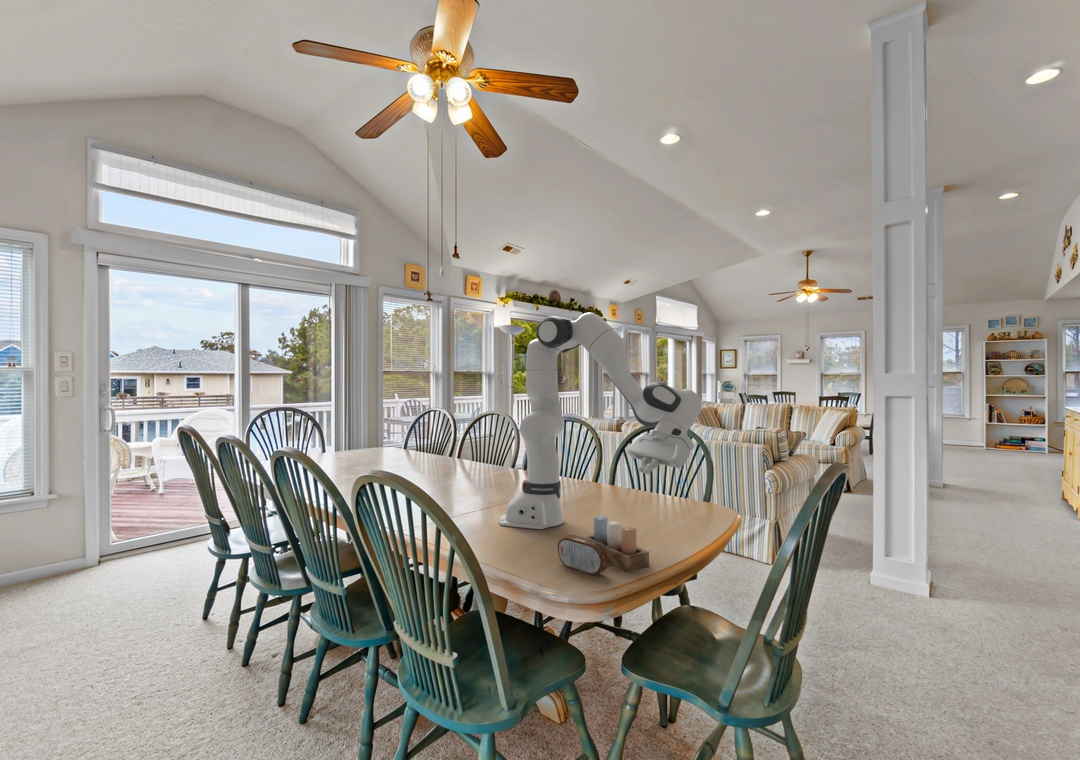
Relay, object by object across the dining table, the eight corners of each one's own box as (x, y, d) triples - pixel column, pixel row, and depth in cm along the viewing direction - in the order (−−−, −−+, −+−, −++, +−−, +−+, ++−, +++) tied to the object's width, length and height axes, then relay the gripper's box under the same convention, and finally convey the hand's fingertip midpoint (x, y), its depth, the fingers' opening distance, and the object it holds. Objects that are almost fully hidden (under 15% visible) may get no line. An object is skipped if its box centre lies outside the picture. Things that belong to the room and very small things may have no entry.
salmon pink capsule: (621, 561, 134) (621, 531, 134) (621, 555, 138) (621, 526, 138) (636, 561, 134) (636, 531, 133) (636, 556, 138) (636, 527, 137)
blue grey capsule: (593, 548, 144) (593, 520, 144) (594, 543, 148) (594, 516, 148) (607, 548, 144) (607, 520, 144) (608, 543, 148) (607, 516, 148)
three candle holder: (649, 566, 135) (649, 551, 135) (626, 572, 131) (626, 557, 131) (604, 546, 151) (604, 532, 151) (582, 551, 147) (582, 537, 147)
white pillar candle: (607, 554, 139) (606, 525, 139) (607, 549, 143) (607, 521, 143) (621, 555, 139) (621, 525, 139) (621, 550, 143) (621, 521, 143)
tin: (608, 576, 129) (608, 543, 129) (601, 579, 127) (601, 546, 127) (563, 561, 139) (562, 531, 139) (555, 565, 137) (555, 533, 137)
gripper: (637, 425, 159) (614, 459, 154) (688, 432, 142) (663, 471, 137) (648, 438, 162) (625, 472, 157) (699, 447, 144) (675, 485, 140)
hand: (643, 472), depth 147 cm, fingers closed
